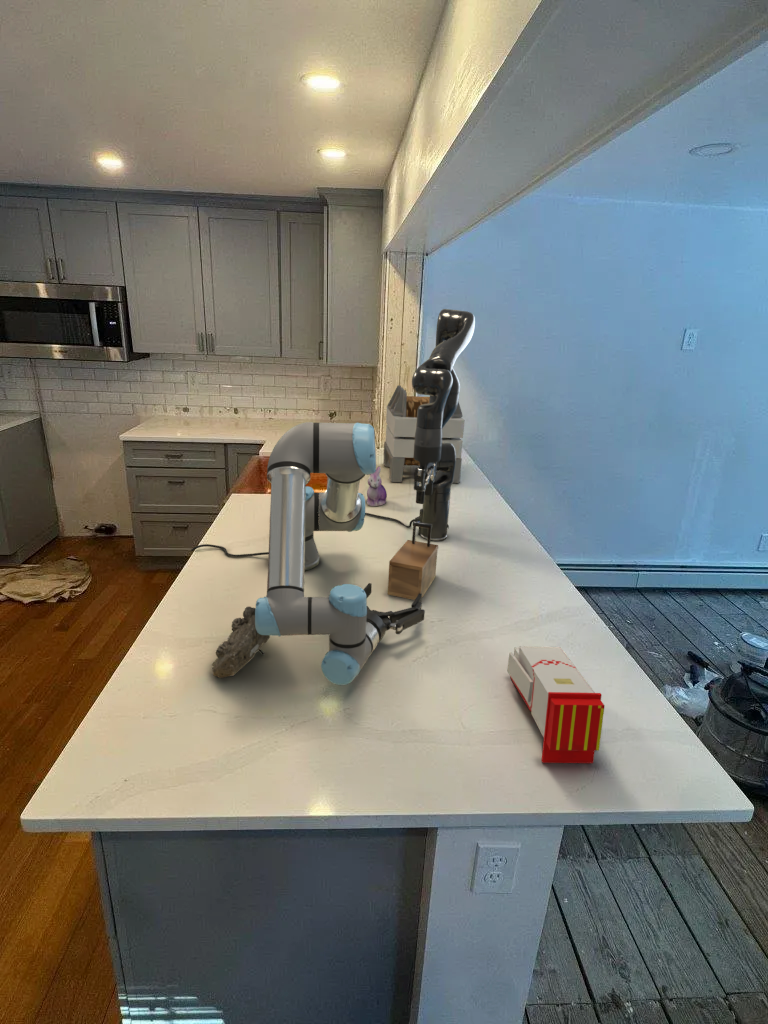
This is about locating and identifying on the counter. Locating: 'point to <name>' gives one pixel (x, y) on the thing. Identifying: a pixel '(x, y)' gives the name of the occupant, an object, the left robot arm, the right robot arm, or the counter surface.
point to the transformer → (403, 434)
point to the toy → (558, 703)
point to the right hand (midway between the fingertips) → (424, 499)
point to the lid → (415, 551)
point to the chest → (411, 580)
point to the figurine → (376, 490)
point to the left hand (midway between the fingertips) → (394, 592)
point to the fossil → (239, 645)
